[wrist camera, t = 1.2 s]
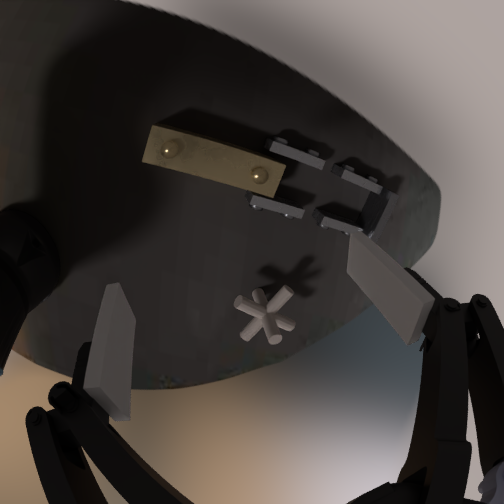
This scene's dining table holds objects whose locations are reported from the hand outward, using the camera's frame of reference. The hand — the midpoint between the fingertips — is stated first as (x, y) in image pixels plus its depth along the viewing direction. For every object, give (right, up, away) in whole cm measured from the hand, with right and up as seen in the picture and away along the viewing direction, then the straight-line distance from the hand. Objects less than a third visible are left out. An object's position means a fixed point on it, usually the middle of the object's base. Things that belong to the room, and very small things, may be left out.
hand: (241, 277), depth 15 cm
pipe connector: (+1, -5, +29) cm, 29 cm away
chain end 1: (+14, +9, +24) cm, 29 cm away
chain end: (+4, +11, +20) cm, 23 cm away
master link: (-4, +13, +17) cm, 22 cm away
